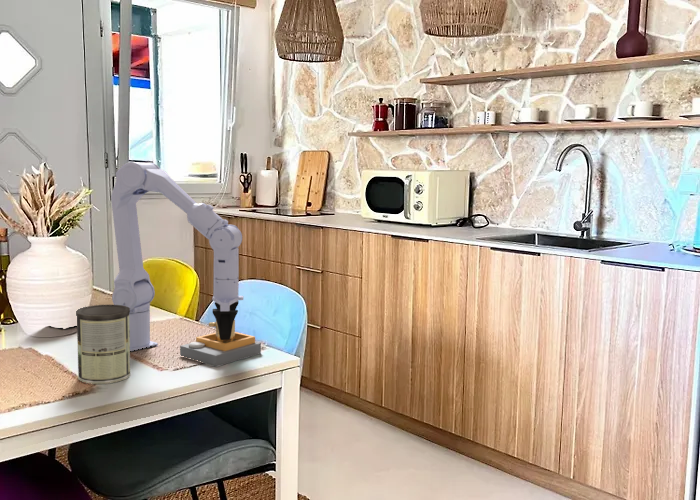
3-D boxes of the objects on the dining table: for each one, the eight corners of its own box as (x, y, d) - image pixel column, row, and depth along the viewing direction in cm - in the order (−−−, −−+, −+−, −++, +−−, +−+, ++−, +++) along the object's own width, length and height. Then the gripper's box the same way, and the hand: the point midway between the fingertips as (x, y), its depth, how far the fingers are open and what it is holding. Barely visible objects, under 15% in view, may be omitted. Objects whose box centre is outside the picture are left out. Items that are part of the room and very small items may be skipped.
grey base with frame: (215, 366, 145) (215, 348, 144) (180, 356, 152) (180, 339, 151) (260, 353, 156) (260, 336, 156) (225, 344, 163) (225, 328, 163)
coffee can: (67, 376, 136) (66, 309, 134) (113, 366, 143) (112, 302, 142) (94, 388, 129) (93, 317, 127) (140, 376, 137) (140, 309, 135)
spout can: (235, 351, 157) (236, 318, 156) (233, 356, 153) (233, 322, 152) (209, 351, 157) (210, 318, 156) (206, 356, 153) (206, 322, 152)
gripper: (243, 283, 146) (242, 343, 148) (243, 272, 161) (243, 327, 162) (210, 283, 145) (210, 343, 147) (214, 272, 160) (214, 327, 161)
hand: (225, 335), depth 155 cm, fingers open, 7 cm apart
